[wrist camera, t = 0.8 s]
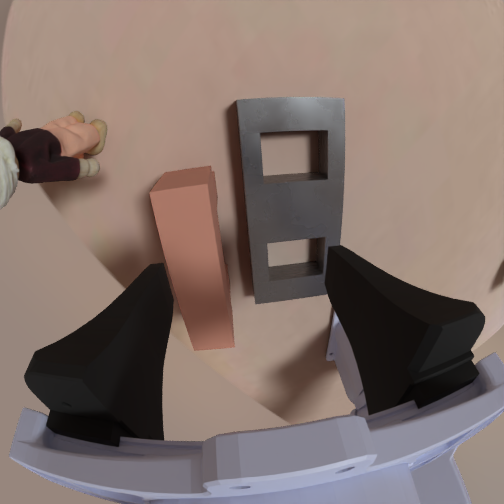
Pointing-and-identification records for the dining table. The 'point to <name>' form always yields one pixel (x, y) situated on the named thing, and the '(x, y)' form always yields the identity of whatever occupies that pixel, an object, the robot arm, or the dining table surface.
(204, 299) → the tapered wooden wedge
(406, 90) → the dining table surface
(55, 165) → the grandmother figurine
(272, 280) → the slotted metal plate
